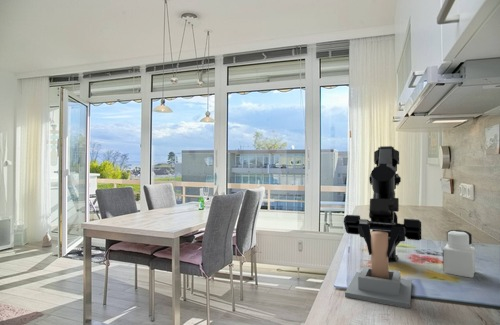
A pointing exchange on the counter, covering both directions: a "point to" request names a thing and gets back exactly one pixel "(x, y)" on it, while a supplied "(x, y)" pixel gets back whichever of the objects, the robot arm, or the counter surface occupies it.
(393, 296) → the socket
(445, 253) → the medicine bottle
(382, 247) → the dowel
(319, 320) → the counter surface
